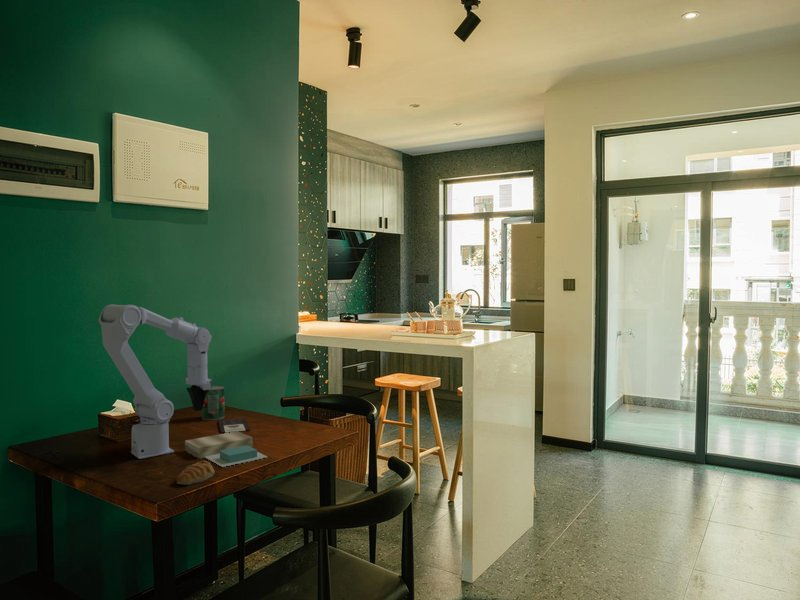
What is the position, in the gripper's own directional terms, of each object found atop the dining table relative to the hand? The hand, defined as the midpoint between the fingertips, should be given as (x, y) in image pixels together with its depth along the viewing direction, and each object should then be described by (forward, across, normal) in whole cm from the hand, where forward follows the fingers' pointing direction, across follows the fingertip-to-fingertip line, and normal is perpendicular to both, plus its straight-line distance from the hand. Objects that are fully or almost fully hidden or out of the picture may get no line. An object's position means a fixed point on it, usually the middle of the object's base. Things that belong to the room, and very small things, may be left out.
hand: (198, 410), depth 172 cm
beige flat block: (+9, -13, -1) cm, 16 cm away
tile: (+8, -26, -1) cm, 27 cm away
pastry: (+10, -34, +14) cm, 38 cm away
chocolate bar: (+10, +10, -16) cm, 21 cm away
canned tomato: (+10, +27, -16) cm, 33 cm away
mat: (+9, -24, -1) cm, 26 cm away
